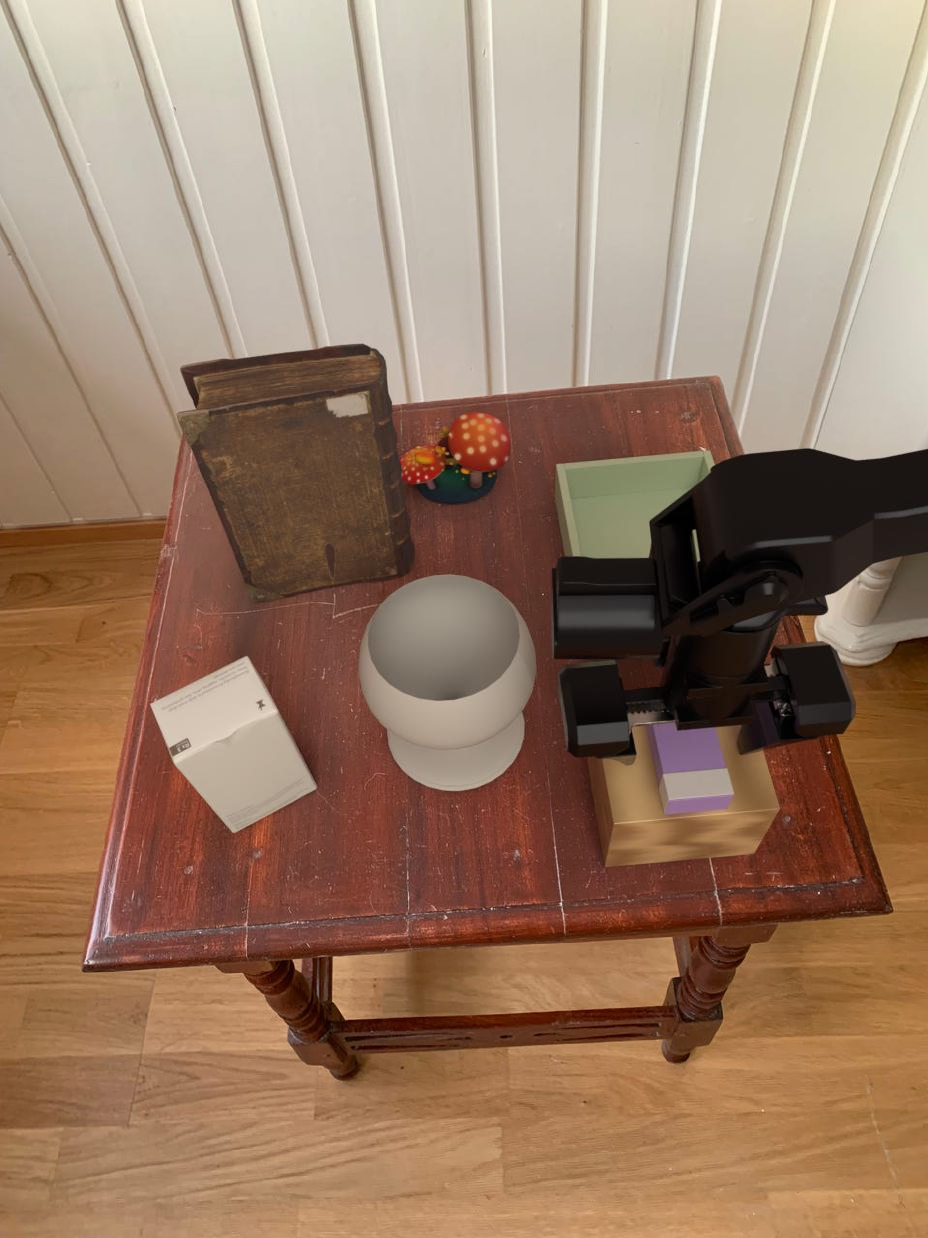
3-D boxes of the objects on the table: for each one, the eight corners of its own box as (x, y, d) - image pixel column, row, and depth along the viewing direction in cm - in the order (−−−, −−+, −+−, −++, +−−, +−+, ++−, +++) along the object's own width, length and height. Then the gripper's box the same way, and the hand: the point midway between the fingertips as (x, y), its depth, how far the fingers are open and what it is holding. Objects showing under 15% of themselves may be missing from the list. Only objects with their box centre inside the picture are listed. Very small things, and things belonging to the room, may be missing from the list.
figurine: (506, 439, 100) (505, 379, 93) (514, 501, 95) (513, 442, 88) (399, 448, 100) (389, 388, 93) (400, 511, 95) (391, 452, 88)
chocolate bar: (700, 701, 70) (705, 684, 68) (728, 809, 65) (734, 795, 63) (640, 706, 70) (644, 690, 68) (664, 815, 65) (668, 801, 63)
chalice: (556, 688, 82) (562, 589, 69) (502, 826, 74) (497, 742, 62) (415, 644, 85) (397, 542, 73) (350, 771, 78) (318, 682, 66)
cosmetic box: (293, 739, 80) (251, 647, 68) (320, 793, 77) (282, 707, 65) (204, 783, 78) (145, 698, 66) (229, 841, 75) (172, 762, 63)
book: (416, 538, 93) (384, 337, 72) (418, 593, 89) (385, 396, 68) (254, 551, 93) (178, 354, 73) (249, 607, 89) (166, 415, 68)
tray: (702, 484, 95) (710, 449, 91) (749, 638, 84) (761, 606, 79) (554, 497, 95) (555, 463, 91) (582, 653, 84) (585, 622, 80)
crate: (725, 746, 77) (746, 693, 70) (754, 854, 72) (780, 809, 65) (586, 759, 77) (592, 707, 70) (604, 867, 72) (613, 824, 65)
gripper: (834, 522, 59) (779, 652, 72) (549, 548, 59) (545, 673, 72) (893, 666, 52) (821, 781, 65) (573, 695, 53) (564, 804, 65)
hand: (683, 754), depth 67 cm, fingers open, 8 cm apart
